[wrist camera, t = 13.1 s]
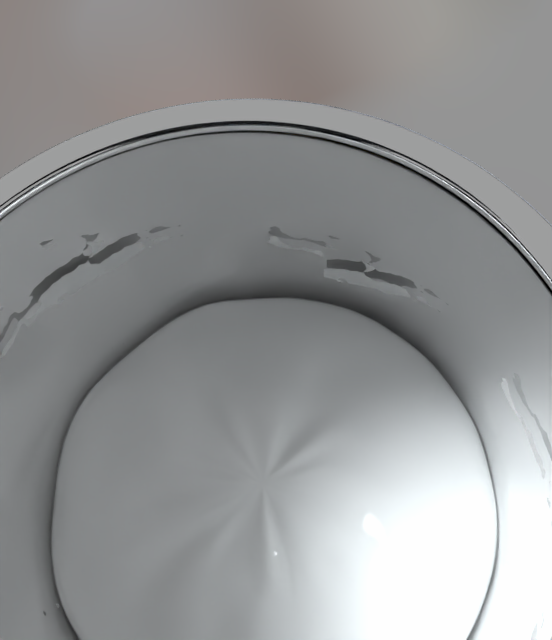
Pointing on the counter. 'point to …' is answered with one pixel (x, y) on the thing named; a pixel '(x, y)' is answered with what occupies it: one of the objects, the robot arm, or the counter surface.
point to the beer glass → (272, 384)
